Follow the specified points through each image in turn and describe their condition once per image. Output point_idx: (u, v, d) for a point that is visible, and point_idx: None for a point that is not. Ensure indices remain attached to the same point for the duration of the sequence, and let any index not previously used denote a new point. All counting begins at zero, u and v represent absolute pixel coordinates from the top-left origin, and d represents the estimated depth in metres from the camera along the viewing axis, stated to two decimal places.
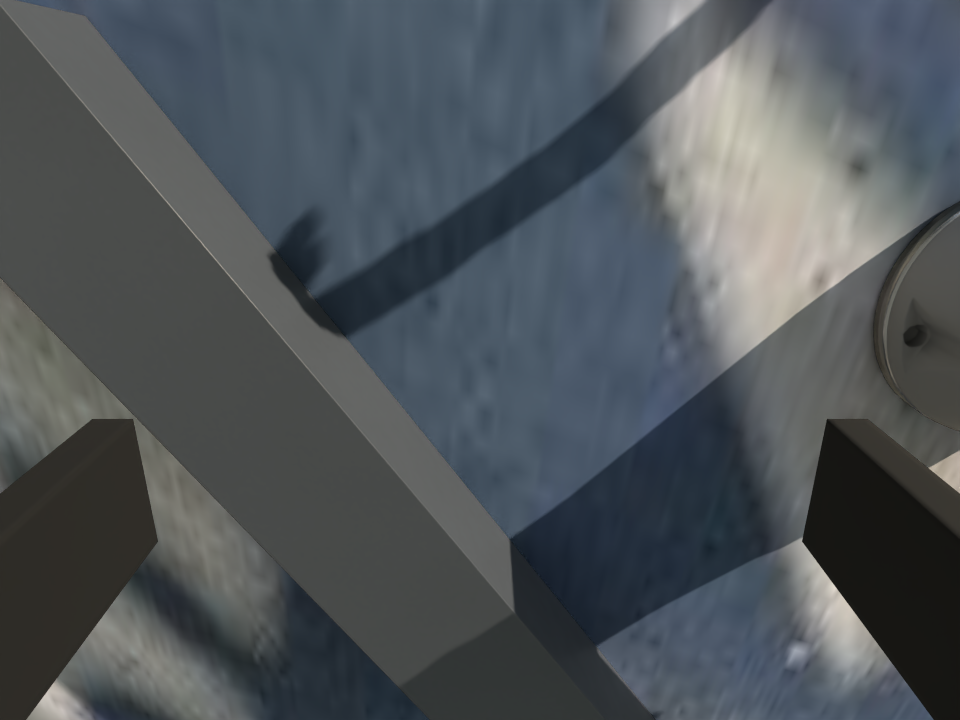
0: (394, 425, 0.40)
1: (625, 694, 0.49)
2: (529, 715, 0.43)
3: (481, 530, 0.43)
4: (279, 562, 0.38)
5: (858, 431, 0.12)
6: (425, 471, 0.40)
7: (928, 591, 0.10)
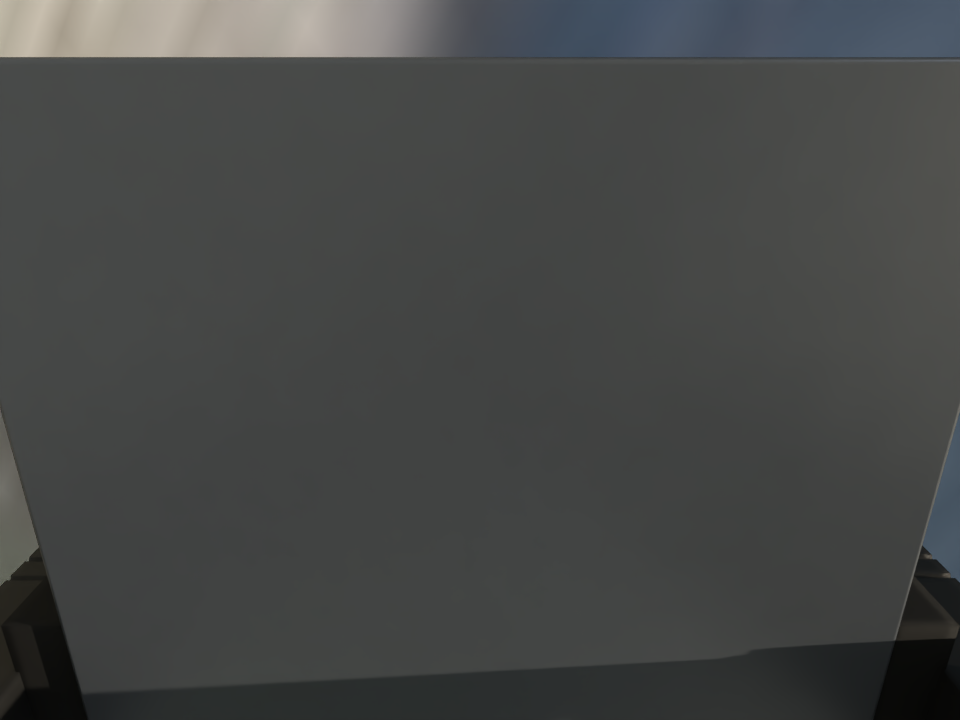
0: None
1: None
2: None
3: None
4: None
5: None
6: None
7: None
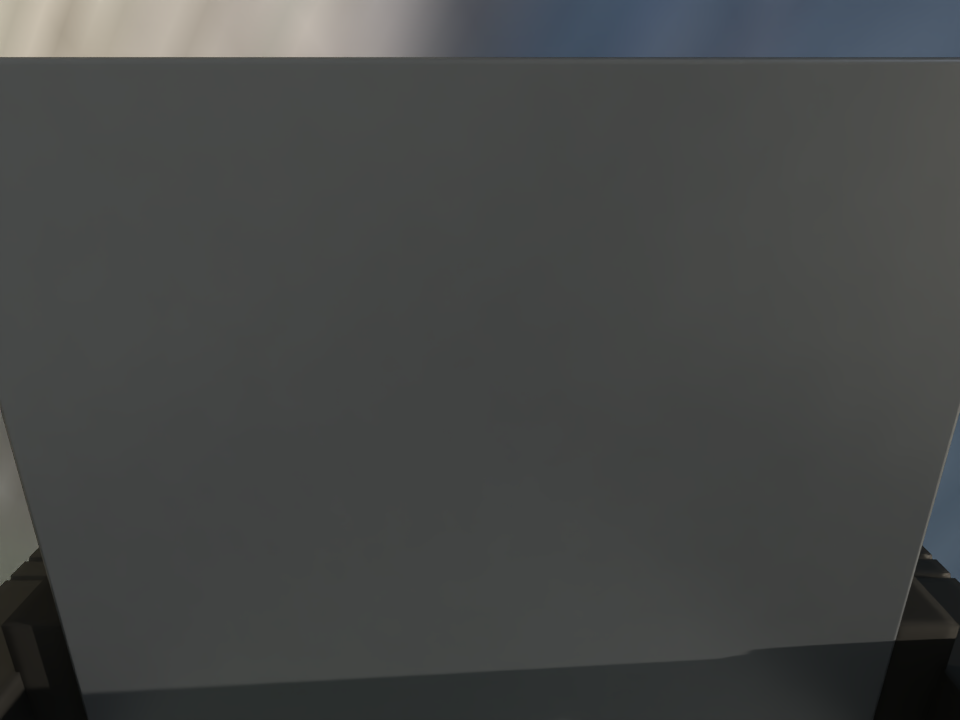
0: None
1: None
2: None
3: None
4: None
5: None
6: None
7: None
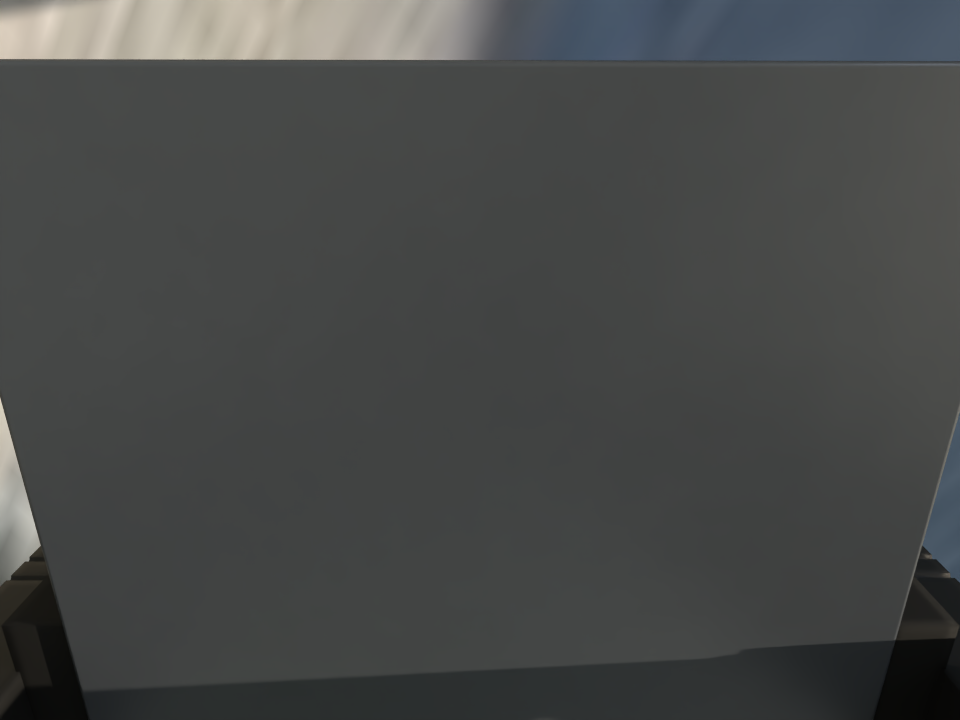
0: None
1: None
2: None
3: None
4: None
5: None
6: None
7: None
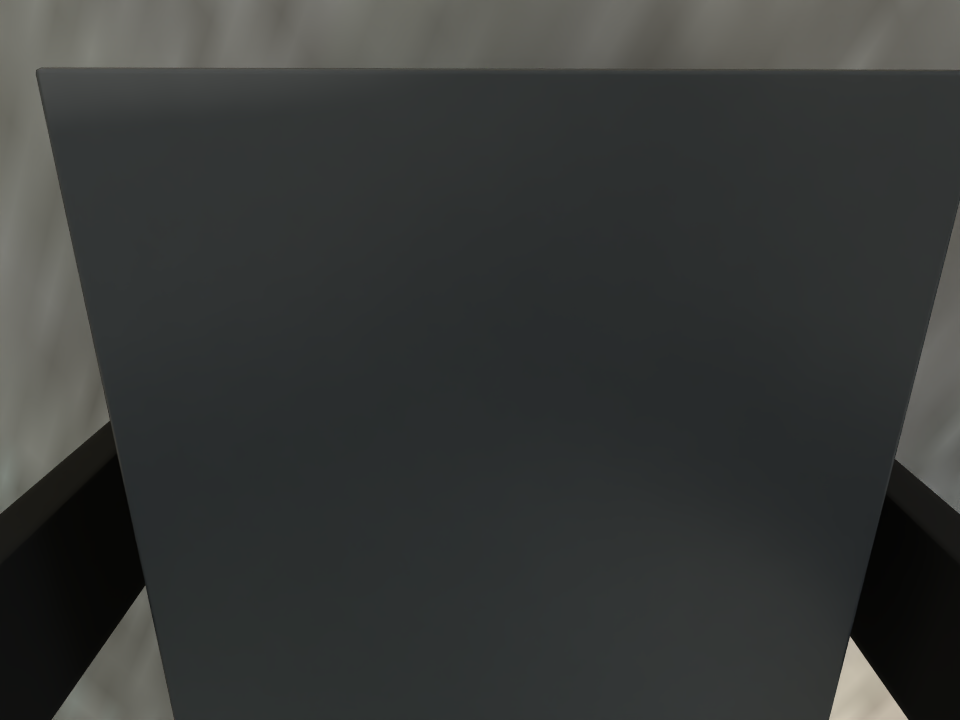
0: None
1: None
2: None
3: None
4: None
5: None
6: None
7: (891, 578, 0.10)
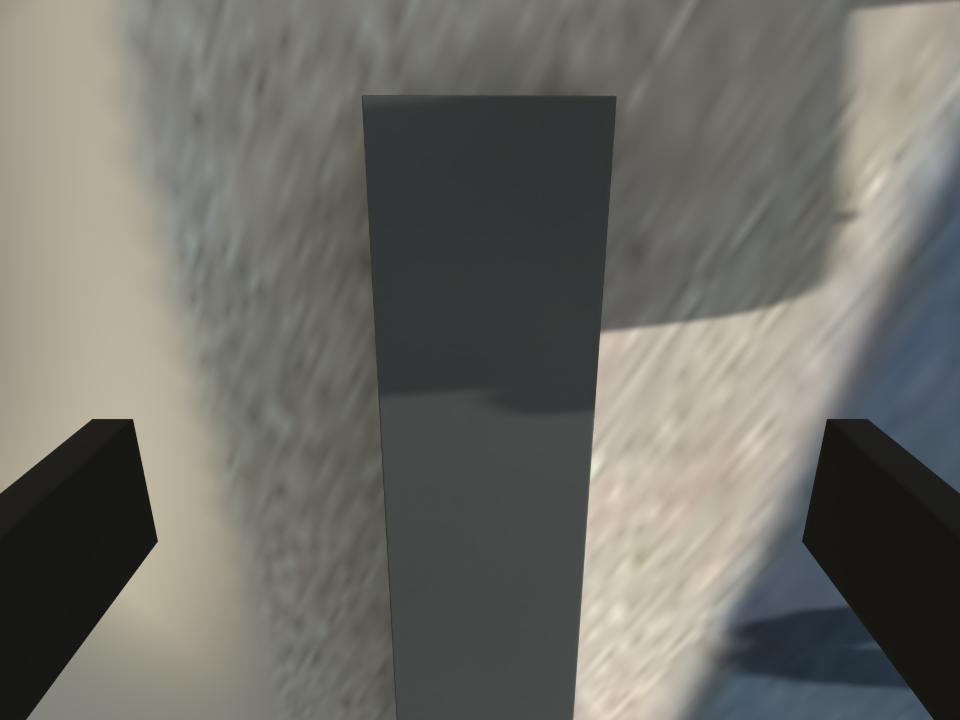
0: None
1: None
2: None
3: None
4: (398, 698, 0.34)
5: (858, 431, 0.12)
6: None
7: (928, 591, 0.10)
